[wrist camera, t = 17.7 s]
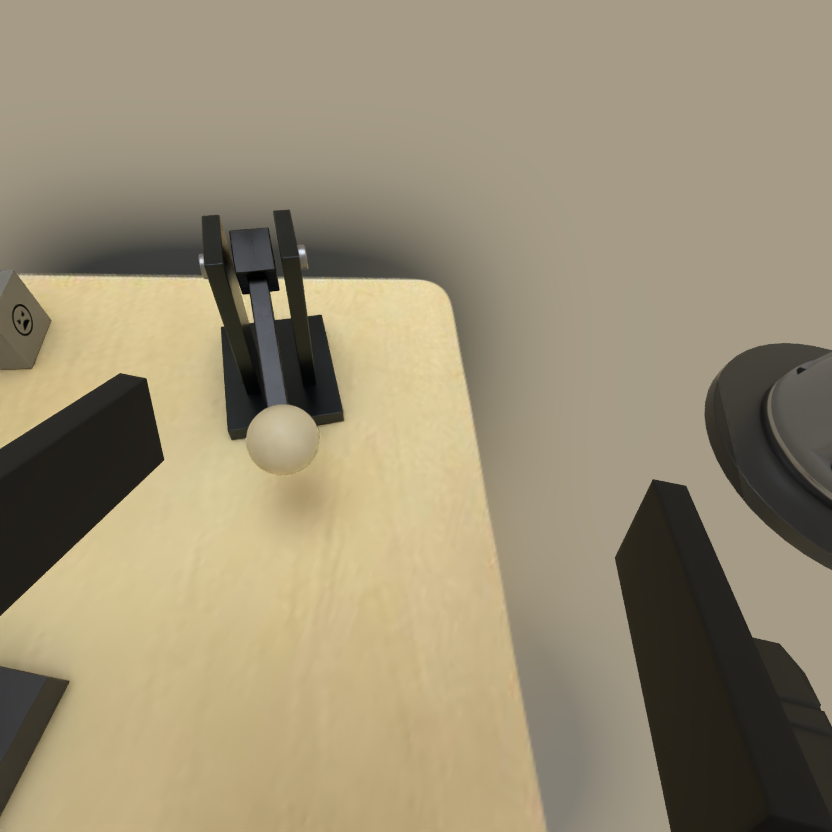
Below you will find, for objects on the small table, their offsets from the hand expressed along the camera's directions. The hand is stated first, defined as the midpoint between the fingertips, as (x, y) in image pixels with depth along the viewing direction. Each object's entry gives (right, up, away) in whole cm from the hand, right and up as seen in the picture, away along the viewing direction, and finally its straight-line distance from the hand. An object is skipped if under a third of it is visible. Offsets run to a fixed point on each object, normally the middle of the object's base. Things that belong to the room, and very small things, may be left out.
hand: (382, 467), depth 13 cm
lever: (-8, +5, +16) cm, 19 cm away
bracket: (-10, +4, +25) cm, 27 cm away
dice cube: (-31, +7, +25) cm, 40 cm away
